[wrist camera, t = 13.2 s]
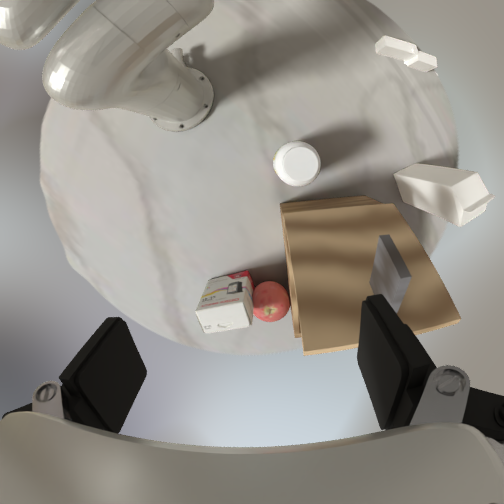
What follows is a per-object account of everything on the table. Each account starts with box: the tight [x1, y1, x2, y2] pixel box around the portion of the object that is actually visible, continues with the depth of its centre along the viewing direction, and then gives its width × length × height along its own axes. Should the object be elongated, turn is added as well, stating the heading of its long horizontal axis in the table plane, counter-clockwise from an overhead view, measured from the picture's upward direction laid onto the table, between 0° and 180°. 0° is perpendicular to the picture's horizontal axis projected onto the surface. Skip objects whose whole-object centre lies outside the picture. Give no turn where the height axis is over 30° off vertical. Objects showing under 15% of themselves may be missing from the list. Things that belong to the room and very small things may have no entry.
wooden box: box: [280, 195, 383, 338], centre depth 45 cm, size 20×16×12 cm
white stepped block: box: [375, 35, 438, 75], centre depth 34 cm, size 15×11×6 cm
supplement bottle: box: [273, 141, 321, 187], centre depth 40 cm, size 7×7×13 cm
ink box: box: [195, 270, 255, 333], centre depth 48 cm, size 9×5×12 cm, turn 106°
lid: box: [284, 203, 461, 356], centre depth 26 cm, size 20×16×7 cm
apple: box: [252, 281, 290, 322], centre depth 50 cm, size 7×7×8 cm
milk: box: [393, 163, 495, 227], centre depth 35 cm, size 6×6×22 cm
